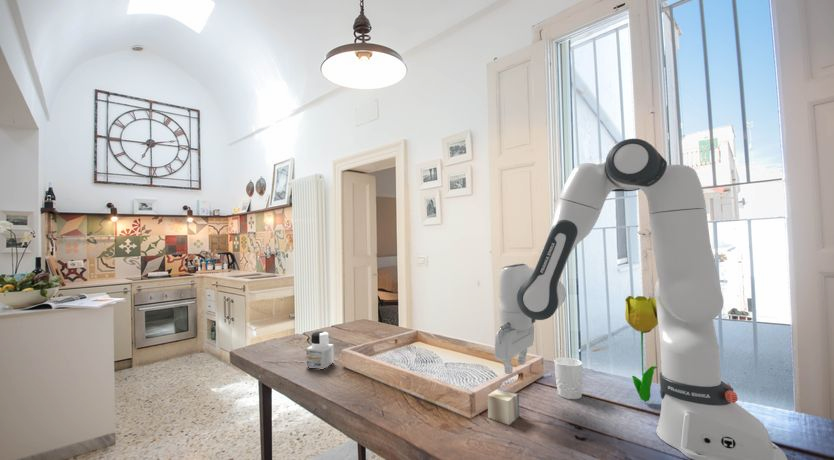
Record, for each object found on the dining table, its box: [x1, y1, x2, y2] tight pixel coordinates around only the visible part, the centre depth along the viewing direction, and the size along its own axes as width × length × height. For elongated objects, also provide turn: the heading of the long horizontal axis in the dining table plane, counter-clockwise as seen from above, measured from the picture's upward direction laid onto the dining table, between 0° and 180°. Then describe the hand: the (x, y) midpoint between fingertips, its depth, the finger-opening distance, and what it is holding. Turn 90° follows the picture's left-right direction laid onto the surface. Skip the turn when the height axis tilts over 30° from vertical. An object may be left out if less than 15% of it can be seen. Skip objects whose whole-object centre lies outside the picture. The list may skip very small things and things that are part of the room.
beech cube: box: [487, 387, 520, 426], centre depth 97 cm, size 6×6×6 cm
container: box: [305, 330, 335, 369], centre depth 142 cm, size 8×8×13 cm
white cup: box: [553, 356, 583, 400], centre depth 110 cm, size 8×8×10 cm
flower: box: [624, 295, 658, 403], centre depth 104 cm, size 9×8×30 cm
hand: (515, 368), depth 105 cm, fingers open, 8 cm apart
